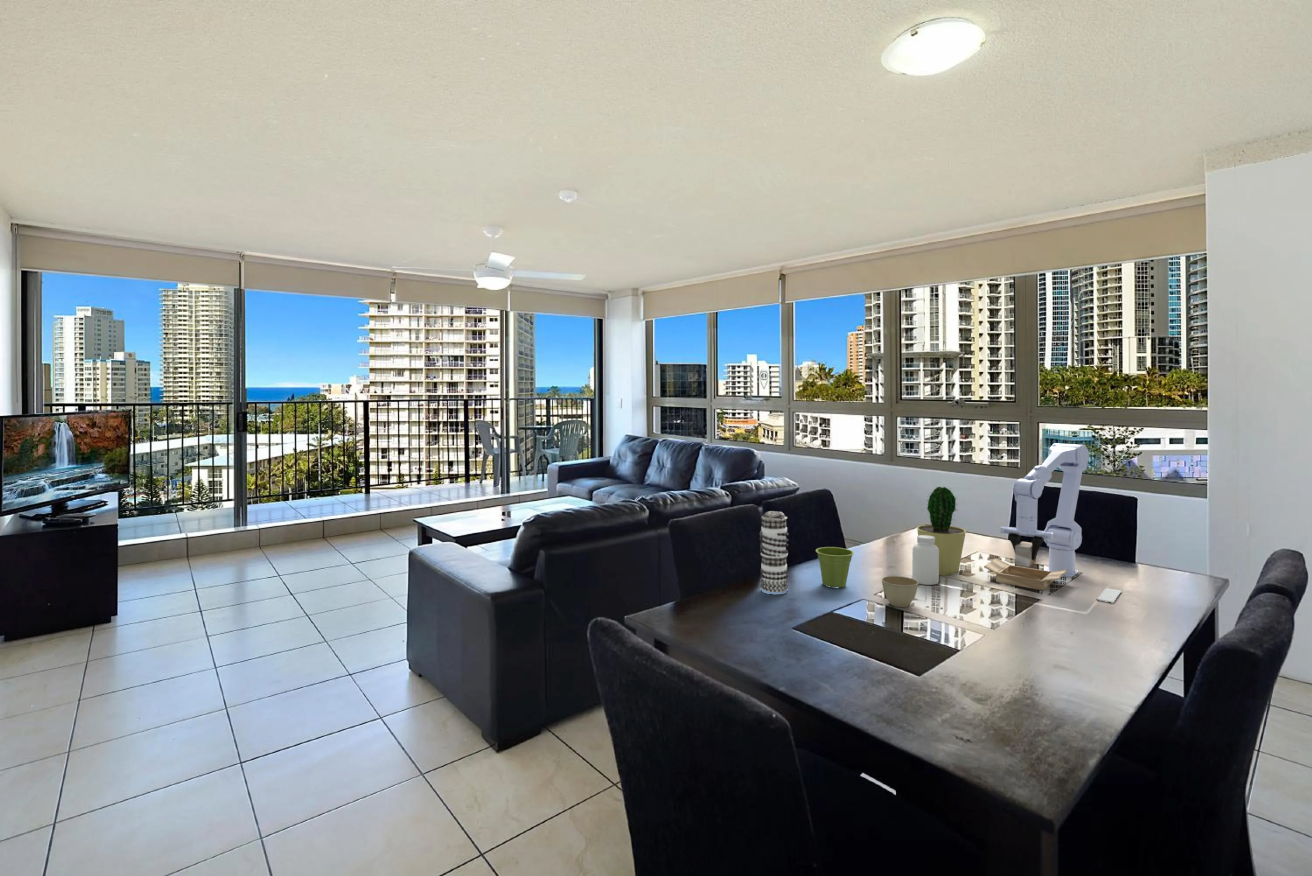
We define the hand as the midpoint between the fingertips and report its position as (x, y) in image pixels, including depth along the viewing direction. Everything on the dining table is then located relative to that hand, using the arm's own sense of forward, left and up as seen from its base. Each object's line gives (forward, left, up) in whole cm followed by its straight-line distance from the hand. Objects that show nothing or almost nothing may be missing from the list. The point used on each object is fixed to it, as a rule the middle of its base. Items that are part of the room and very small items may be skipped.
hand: (1025, 558), depth 200 cm
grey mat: (-2, +18, -8) cm, 20 cm away
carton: (0, 0, -8) cm, 8 cm away
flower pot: (+47, -21, -8) cm, 52 cm away
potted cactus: (+4, -25, -8) cm, 27 cm away
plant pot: (+43, -44, -8) cm, 62 cm away
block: (0, 0, -2) cm, 2 cm away
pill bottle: (+20, -24, -8) cm, 32 cm away
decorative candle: (+61, -55, -8) cm, 83 cm away
